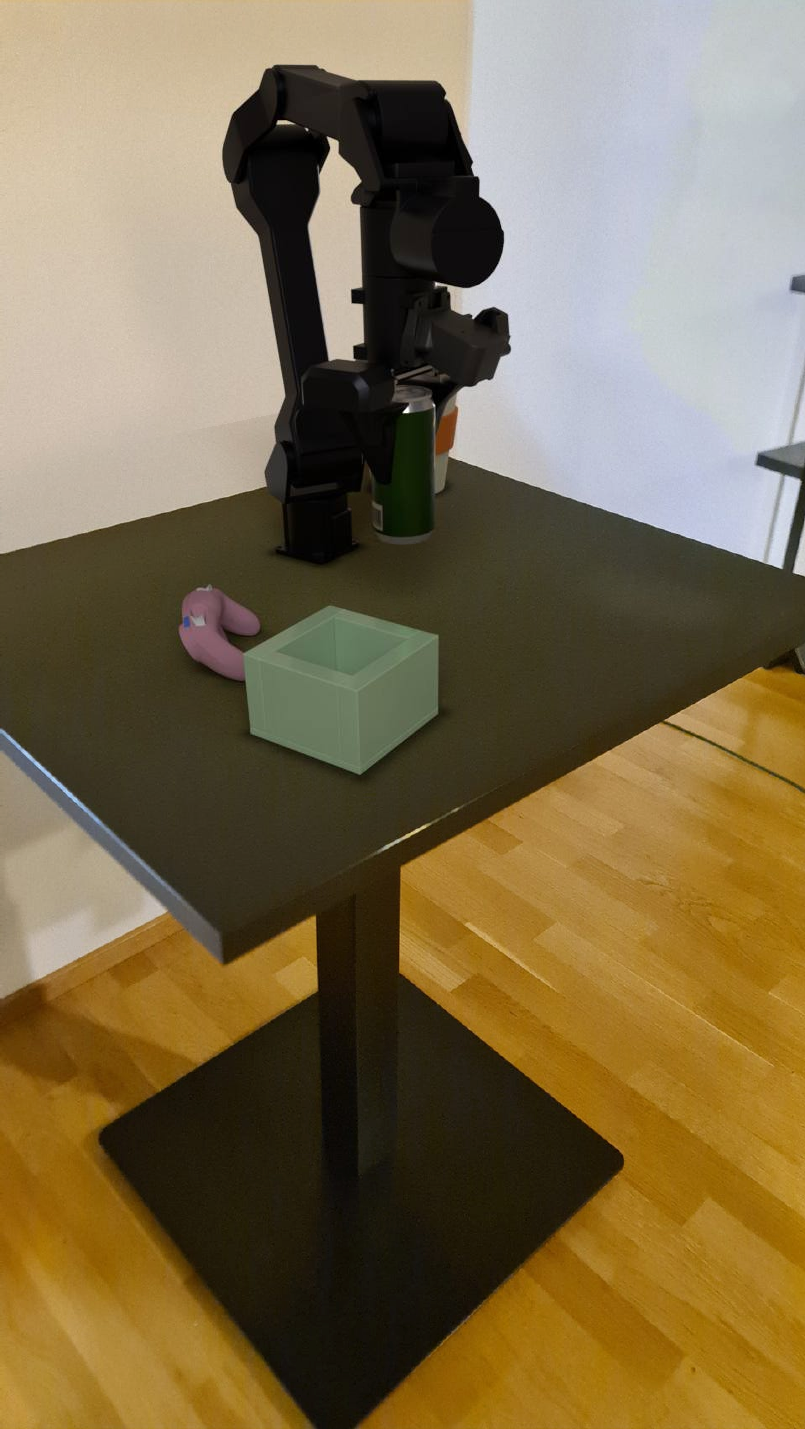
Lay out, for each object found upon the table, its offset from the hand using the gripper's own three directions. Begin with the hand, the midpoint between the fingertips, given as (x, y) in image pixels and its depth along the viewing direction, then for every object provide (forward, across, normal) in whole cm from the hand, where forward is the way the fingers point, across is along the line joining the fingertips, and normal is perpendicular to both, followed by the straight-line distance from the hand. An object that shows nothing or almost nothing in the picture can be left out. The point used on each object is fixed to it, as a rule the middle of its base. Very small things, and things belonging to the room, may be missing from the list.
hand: (402, 475), depth 85 cm
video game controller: (+13, -15, +8) cm, 22 cm away
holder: (+13, -18, -6) cm, 23 cm away
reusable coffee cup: (+13, +33, +21) cm, 41 cm away
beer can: (+5, 0, 0) cm, 5 cm away
